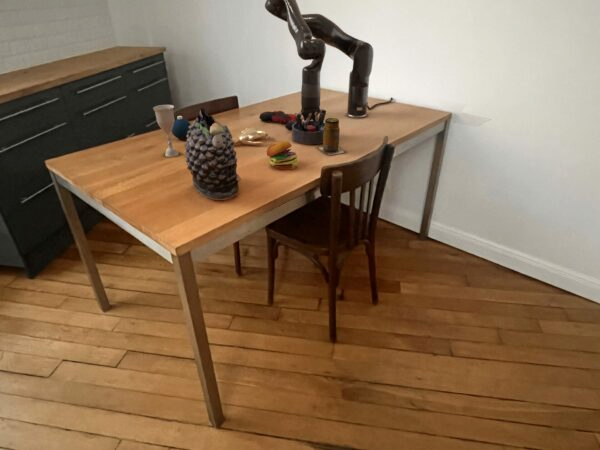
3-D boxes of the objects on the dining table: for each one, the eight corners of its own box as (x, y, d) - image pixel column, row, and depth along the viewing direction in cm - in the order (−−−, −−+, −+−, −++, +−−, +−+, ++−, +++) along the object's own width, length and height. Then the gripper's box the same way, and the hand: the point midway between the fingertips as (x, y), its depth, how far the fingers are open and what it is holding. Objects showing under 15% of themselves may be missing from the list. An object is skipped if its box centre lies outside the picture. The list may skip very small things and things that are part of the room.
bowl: (303, 130, 178) (304, 118, 175) (334, 136, 172) (335, 124, 169) (285, 141, 167) (284, 128, 164) (317, 148, 160) (317, 134, 158)
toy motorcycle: (294, 135, 176) (318, 122, 184) (292, 124, 173) (317, 111, 181) (257, 124, 191) (281, 112, 200) (255, 114, 188) (280, 102, 196)
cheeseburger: (289, 173, 140) (282, 145, 135) (265, 174, 146) (258, 147, 141) (304, 163, 147) (298, 136, 143) (280, 164, 153) (274, 138, 149)
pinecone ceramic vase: (252, 195, 126) (246, 116, 113) (207, 209, 119) (195, 126, 106) (222, 172, 141) (214, 100, 128) (180, 183, 133) (167, 107, 120)
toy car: (300, 135, 171) (300, 125, 169) (309, 133, 173) (310, 123, 171) (310, 141, 165) (310, 131, 163) (319, 139, 167) (319, 129, 165)
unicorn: (246, 141, 154) (214, 136, 163) (247, 151, 156) (216, 145, 165) (278, 127, 168) (248, 122, 177) (279, 136, 170) (249, 131, 179)
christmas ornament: (188, 142, 166) (184, 118, 160) (169, 141, 167) (165, 117, 162) (196, 135, 173) (193, 112, 167) (178, 134, 174) (174, 111, 169)
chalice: (164, 159, 151) (154, 111, 141) (160, 153, 156) (151, 106, 147) (183, 155, 154) (175, 108, 144) (179, 149, 159) (171, 103, 149)
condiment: (334, 145, 163) (335, 116, 157) (345, 152, 156) (347, 122, 150) (318, 148, 160) (318, 118, 154) (328, 155, 154) (329, 124, 147)
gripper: (299, 98, 154) (299, 141, 163) (331, 94, 160) (329, 136, 169) (290, 94, 159) (290, 136, 169) (321, 90, 165) (320, 130, 174)
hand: (310, 135), depth 169 cm, fingers open, 4 cm apart
